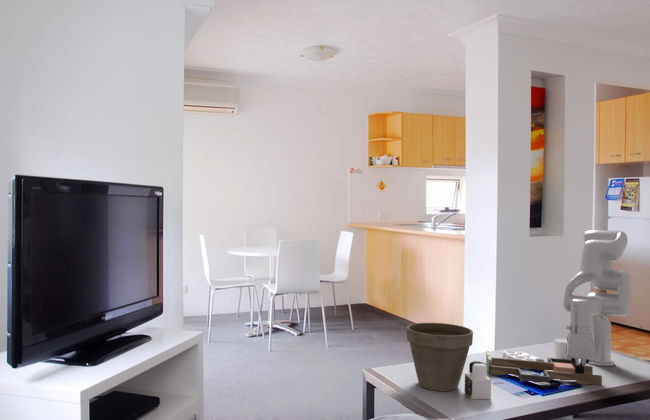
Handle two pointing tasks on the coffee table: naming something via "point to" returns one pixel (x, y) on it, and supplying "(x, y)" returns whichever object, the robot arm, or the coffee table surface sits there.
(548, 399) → the coffee table surface
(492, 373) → the channel
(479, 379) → the medicine bottle
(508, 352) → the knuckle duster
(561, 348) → the white cup
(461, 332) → the plant pot
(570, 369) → the salmon pink square block
